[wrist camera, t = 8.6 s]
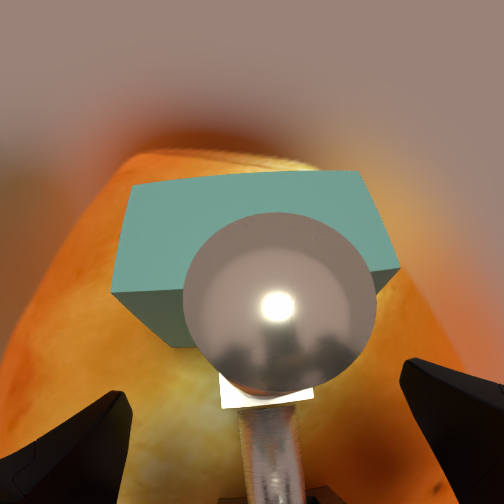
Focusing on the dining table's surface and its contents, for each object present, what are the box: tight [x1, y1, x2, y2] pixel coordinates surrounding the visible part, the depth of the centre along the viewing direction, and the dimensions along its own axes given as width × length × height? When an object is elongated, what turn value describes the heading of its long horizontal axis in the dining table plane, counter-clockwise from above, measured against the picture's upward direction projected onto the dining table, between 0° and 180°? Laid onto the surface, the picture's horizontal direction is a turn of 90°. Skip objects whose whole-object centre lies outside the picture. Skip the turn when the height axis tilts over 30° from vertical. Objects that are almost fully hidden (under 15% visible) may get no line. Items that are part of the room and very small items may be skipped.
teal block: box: [110, 171, 401, 348], centre depth 13 cm, size 5×10×8 cm, turn 96°
